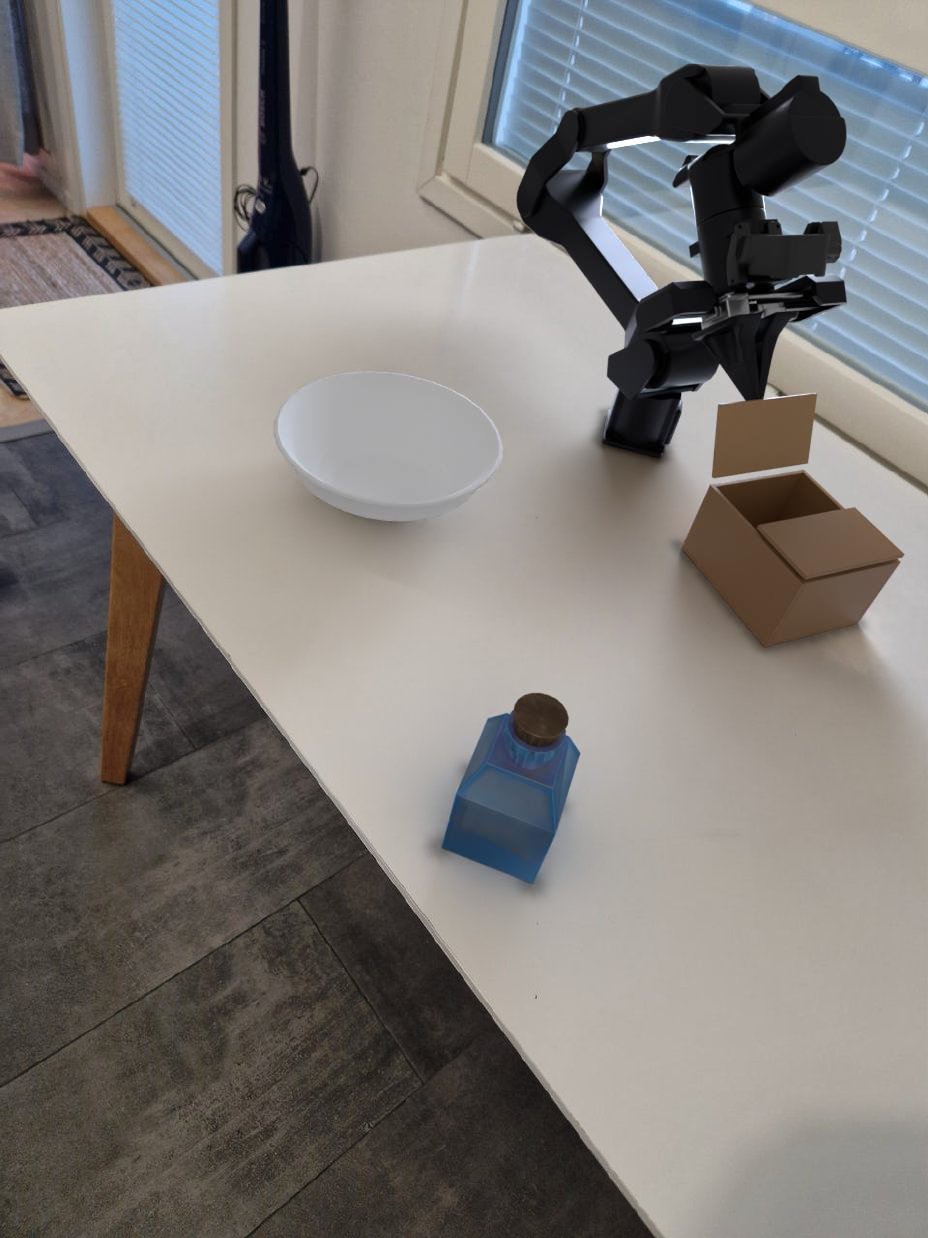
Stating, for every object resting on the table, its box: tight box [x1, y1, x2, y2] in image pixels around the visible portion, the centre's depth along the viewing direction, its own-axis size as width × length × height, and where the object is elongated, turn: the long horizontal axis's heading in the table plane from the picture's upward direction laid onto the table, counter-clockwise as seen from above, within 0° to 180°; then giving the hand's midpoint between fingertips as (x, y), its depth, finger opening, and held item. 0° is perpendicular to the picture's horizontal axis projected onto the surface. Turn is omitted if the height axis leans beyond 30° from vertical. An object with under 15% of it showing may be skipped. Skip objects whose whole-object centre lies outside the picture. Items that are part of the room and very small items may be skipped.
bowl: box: [273, 370, 503, 522], centre depth 77 cm, size 20×20×6 cm
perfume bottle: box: [440, 692, 581, 885], centre depth 53 cm, size 6×6×12 cm
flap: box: [711, 392, 818, 479], centre depth 76 cm, size 6×11×1 cm
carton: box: [681, 469, 905, 648], centre depth 76 cm, size 13×11×8 cm
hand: (755, 403), depth 76 cm, fingers closed
